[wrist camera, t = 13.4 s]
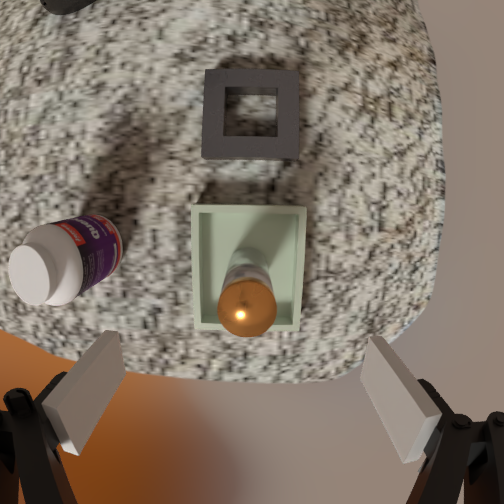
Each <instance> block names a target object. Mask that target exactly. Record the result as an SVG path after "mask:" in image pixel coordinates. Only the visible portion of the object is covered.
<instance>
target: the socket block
mask: <svg viewBox="0 0 504 504" xmlns="http://www.w3.org/2000/svg"><path fill="white" fill-rule="evenodd" d="M227 95H270V96H276V137H259V136H226V110H227ZM201 157H202V158H204V159H205V160H273V161H296V160H298V159H299V71H289V70H272V69H205V83H204V101H203V123H202V151H201Z"/></svg>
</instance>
